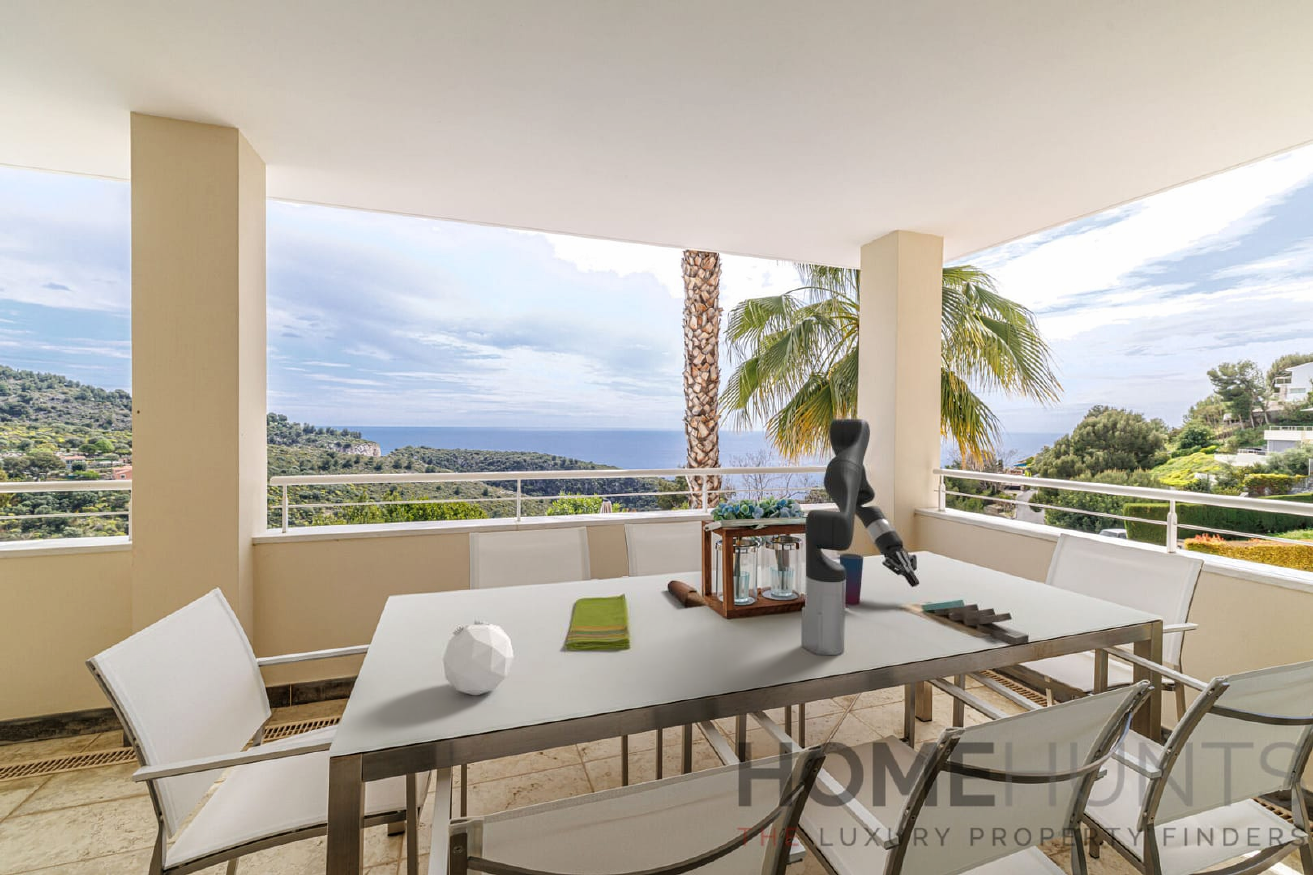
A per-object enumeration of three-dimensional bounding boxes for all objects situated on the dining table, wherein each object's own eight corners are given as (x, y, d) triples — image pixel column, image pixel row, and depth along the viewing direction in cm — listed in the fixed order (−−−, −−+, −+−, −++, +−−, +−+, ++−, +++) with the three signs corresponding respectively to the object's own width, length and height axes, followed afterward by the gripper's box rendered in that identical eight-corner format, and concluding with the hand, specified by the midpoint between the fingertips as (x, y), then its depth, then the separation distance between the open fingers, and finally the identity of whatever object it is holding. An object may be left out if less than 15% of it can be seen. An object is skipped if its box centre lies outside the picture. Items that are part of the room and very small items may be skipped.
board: (976, 641, 139) (976, 637, 139) (896, 610, 162) (896, 607, 162) (1011, 633, 145) (1011, 629, 145) (929, 604, 168) (929, 601, 168)
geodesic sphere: (432, 688, 98) (480, 618, 103) (415, 661, 109) (458, 599, 114) (495, 717, 105) (536, 651, 110) (472, 689, 116) (511, 630, 121)
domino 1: (922, 610, 159) (952, 607, 150) (921, 605, 159) (950, 601, 151) (934, 608, 161) (964, 605, 152) (933, 602, 161) (962, 599, 153)
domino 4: (965, 625, 147) (999, 621, 138) (963, 619, 147) (997, 615, 139) (977, 623, 149) (1012, 619, 141) (975, 616, 149) (1009, 612, 141)
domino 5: (976, 630, 144) (1015, 644, 135) (977, 624, 144) (1015, 637, 135) (989, 627, 146) (1028, 641, 137) (989, 621, 146) (1028, 634, 137)
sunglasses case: (711, 605, 164) (701, 587, 163) (692, 619, 162) (681, 600, 161) (691, 588, 181) (681, 571, 180) (673, 600, 179) (664, 583, 178)
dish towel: (565, 652, 130) (565, 639, 130) (575, 603, 165) (575, 593, 165) (630, 651, 131) (630, 638, 131) (626, 603, 166) (626, 592, 166)
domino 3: (950, 620, 151) (983, 617, 142) (948, 614, 151) (980, 610, 143) (962, 618, 153) (995, 614, 144) (960, 612, 153) (993, 608, 145)
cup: (858, 610, 161) (859, 559, 161) (835, 605, 165) (836, 556, 165) (865, 604, 167) (866, 555, 166) (842, 600, 171) (843, 552, 170)
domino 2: (935, 615, 155) (966, 612, 146) (933, 609, 155) (964, 606, 147) (947, 613, 157) (978, 610, 149) (945, 607, 158) (976, 604, 149)
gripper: (875, 531, 170) (907, 581, 159) (906, 528, 175) (939, 576, 164) (862, 544, 175) (892, 594, 164) (892, 541, 180) (923, 589, 169)
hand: (916, 585), depth 164 cm, fingers closed
